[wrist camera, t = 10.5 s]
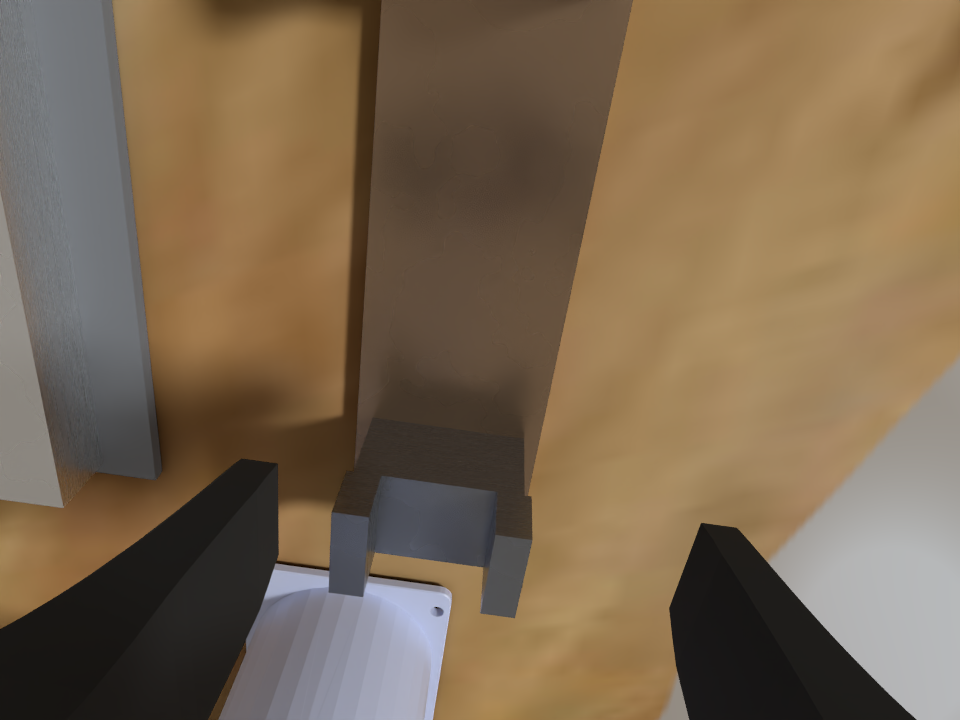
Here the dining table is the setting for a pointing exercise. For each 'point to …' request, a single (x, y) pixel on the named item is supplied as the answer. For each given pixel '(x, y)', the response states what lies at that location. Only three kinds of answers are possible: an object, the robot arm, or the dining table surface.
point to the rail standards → (470, 274)
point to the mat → (100, 224)
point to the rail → (37, 294)
